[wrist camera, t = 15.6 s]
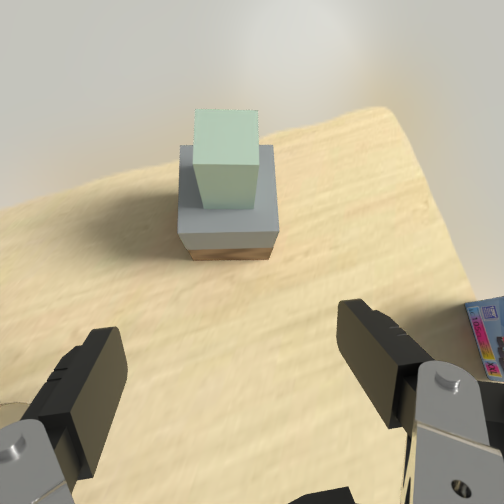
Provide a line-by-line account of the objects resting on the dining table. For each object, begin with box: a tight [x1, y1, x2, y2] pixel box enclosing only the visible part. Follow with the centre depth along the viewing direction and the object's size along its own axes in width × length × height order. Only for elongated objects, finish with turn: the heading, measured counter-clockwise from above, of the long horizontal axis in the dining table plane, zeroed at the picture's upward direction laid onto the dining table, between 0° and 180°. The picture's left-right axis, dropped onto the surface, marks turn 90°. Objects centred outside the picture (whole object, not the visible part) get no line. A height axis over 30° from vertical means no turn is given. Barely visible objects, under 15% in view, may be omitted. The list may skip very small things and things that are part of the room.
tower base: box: [188, 248, 273, 261], centre depth 39 cm, size 10×10×6 cm
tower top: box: [178, 145, 279, 250], centre depth 34 cm, size 10×10×6 cm
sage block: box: [193, 109, 259, 209], centre depth 27 cm, size 5×5×8 cm
